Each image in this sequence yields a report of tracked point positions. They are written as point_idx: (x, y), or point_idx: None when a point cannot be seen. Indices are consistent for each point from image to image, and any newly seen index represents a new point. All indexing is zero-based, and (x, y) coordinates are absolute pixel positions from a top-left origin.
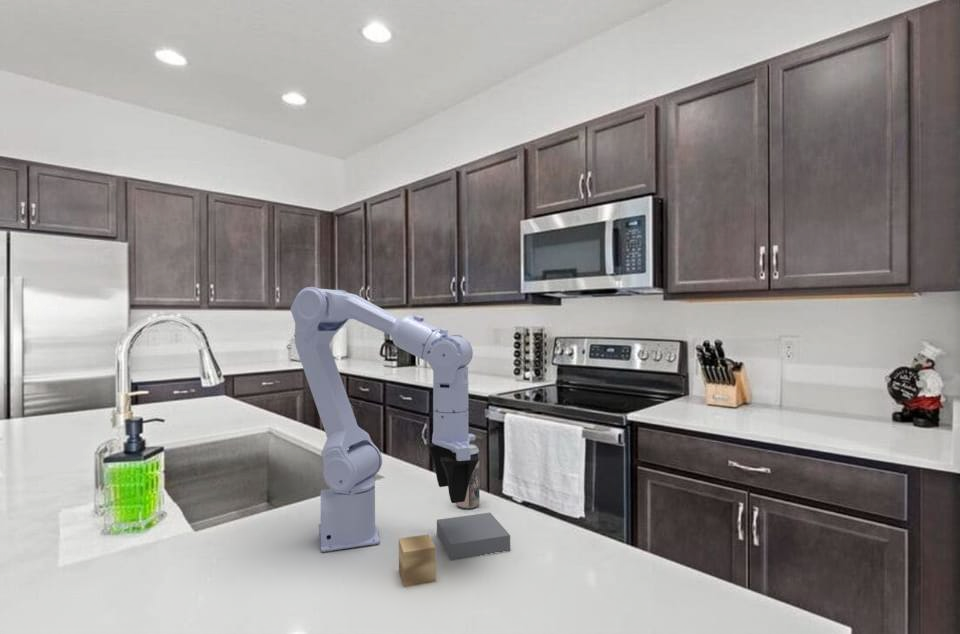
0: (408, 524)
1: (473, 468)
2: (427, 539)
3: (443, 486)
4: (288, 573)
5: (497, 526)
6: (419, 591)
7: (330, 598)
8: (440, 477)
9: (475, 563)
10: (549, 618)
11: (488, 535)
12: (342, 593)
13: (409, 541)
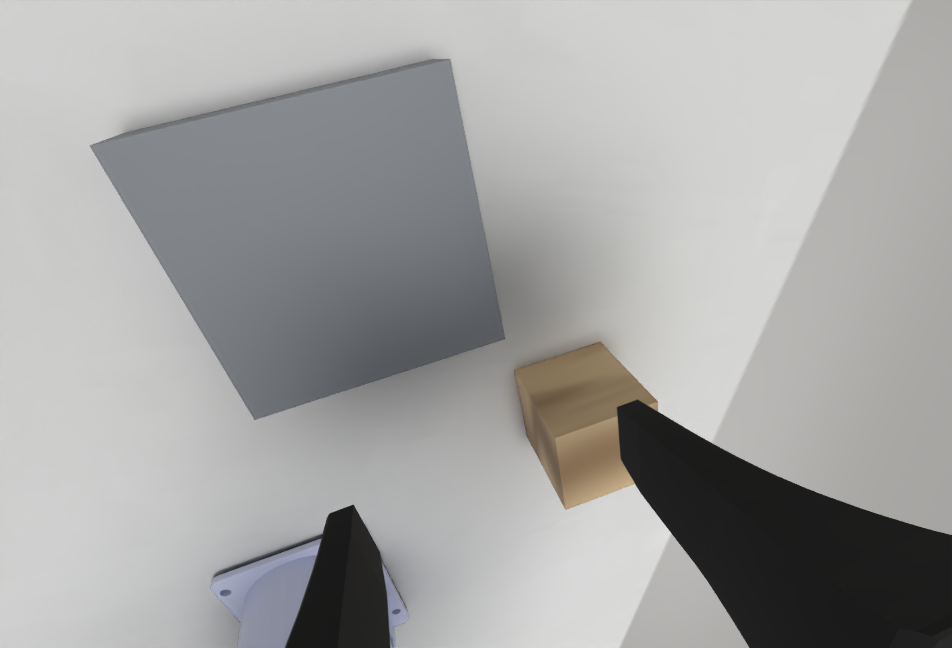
0: (173, 490)
1: (911, 529)
2: (594, 433)
3: (370, 538)
4: (494, 618)
5: (328, 120)
6: (633, 372)
7: (607, 522)
8: (380, 609)
9: (521, 227)
10: (879, 9)
11: (442, 183)
12: (595, 510)
13: (593, 478)
